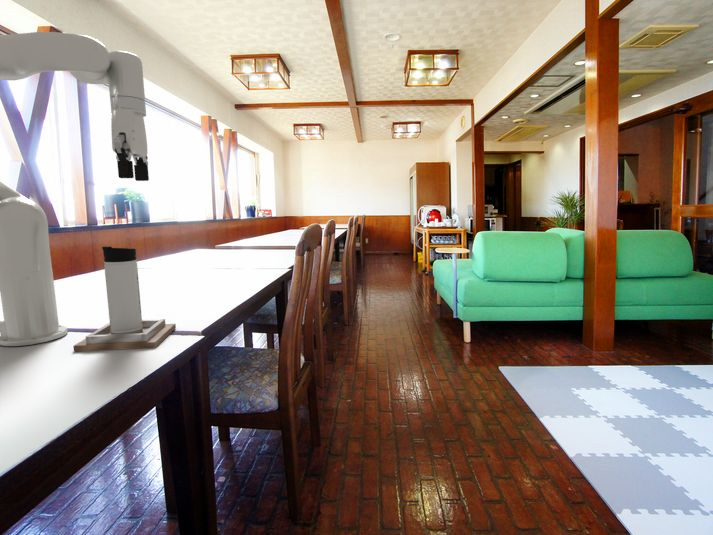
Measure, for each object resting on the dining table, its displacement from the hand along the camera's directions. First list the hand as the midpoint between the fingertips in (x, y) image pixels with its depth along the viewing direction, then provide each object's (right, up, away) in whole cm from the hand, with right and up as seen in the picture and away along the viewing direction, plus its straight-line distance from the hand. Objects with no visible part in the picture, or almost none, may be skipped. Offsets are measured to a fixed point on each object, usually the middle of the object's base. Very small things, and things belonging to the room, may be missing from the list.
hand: (134, 179), depth 103 cm
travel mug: (+4, -37, -11) cm, 39 cm away
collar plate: (+4, -38, -10) cm, 40 cm away
